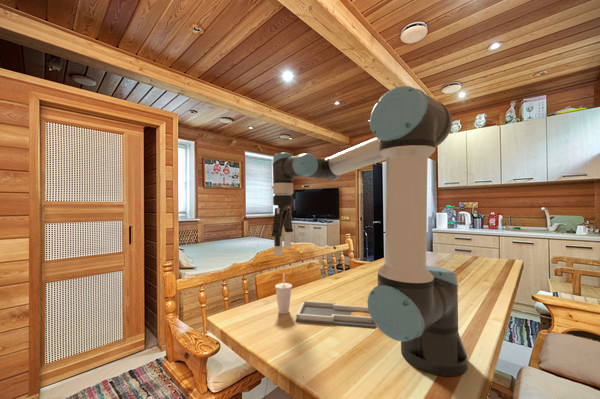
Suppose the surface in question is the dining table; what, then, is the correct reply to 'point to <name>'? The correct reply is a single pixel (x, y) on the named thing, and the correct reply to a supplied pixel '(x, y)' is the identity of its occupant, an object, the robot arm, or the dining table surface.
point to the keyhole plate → (334, 314)
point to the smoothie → (283, 296)
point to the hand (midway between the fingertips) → (283, 251)
